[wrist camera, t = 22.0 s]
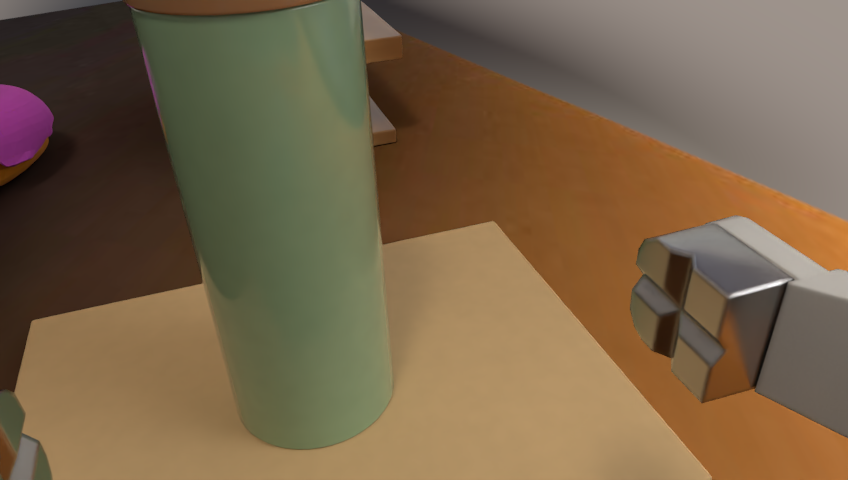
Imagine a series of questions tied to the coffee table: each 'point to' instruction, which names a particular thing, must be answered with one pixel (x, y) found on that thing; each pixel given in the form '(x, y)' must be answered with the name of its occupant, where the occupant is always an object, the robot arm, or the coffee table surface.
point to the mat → (408, 407)
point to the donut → (21, 131)
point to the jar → (279, 203)
